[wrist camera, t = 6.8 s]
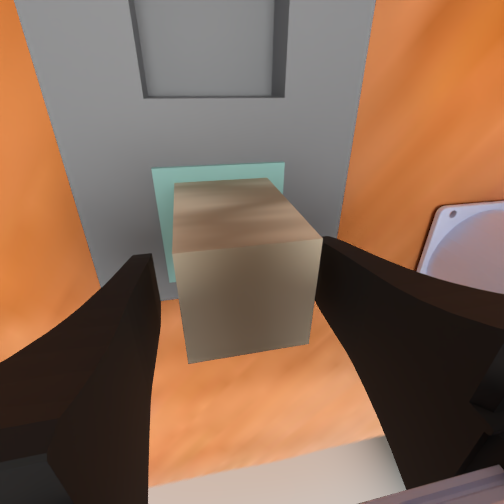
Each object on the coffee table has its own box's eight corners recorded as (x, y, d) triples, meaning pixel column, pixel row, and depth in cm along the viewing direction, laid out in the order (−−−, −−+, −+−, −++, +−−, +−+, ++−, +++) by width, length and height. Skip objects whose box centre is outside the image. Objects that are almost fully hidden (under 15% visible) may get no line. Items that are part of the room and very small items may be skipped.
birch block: (267, 177, 13) (322, 238, 8) (264, 255, 15) (308, 343, 10) (174, 182, 13) (171, 253, 7) (184, 264, 15) (188, 363, 9)
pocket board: (358, -105, 11) (404, -151, 9) (313, 257, 19) (331, 281, 17) (0, -152, 9) (-59, -227, 7) (115, 279, 17) (106, 310, 15)
